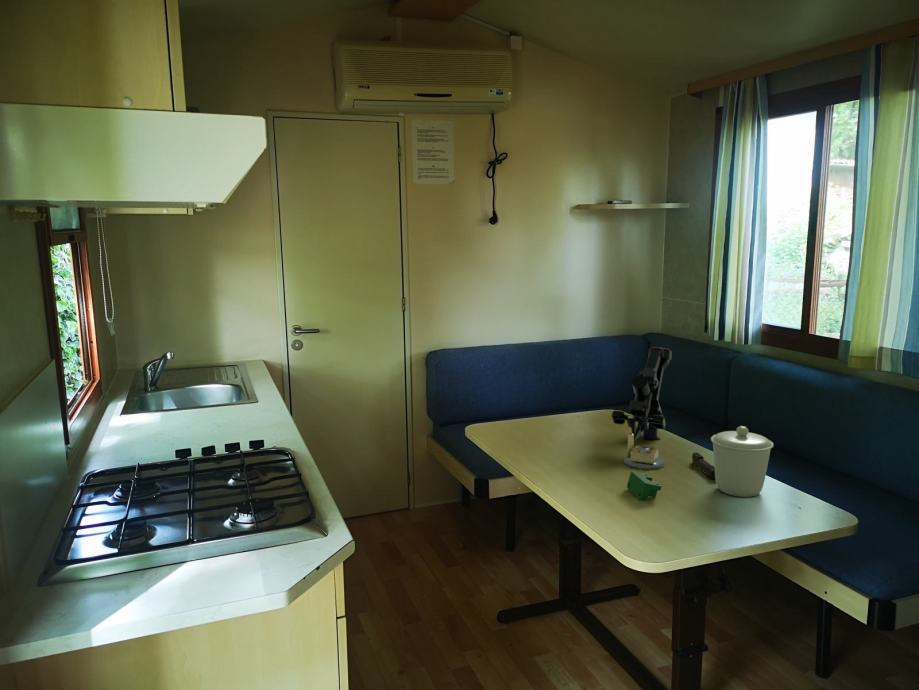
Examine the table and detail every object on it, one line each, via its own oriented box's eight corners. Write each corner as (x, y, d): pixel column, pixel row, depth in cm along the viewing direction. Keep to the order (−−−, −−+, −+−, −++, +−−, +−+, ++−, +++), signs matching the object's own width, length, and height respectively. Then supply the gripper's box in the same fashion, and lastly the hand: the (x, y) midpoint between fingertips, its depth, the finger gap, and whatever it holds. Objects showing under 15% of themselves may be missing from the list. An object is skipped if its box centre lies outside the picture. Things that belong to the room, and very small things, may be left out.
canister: (740, 478, 232) (744, 416, 229) (783, 497, 215) (788, 431, 212) (695, 485, 226) (699, 422, 222) (736, 505, 209) (740, 437, 206)
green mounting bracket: (652, 512, 215) (665, 490, 211) (634, 508, 214) (647, 487, 210) (642, 485, 226) (653, 464, 221) (625, 481, 225) (636, 460, 220)
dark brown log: (722, 481, 230) (723, 468, 230) (710, 481, 230) (711, 467, 229) (700, 463, 249) (701, 450, 248) (689, 463, 249) (690, 450, 248)
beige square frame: (630, 453, 254) (630, 430, 253) (658, 457, 249) (659, 434, 248) (624, 459, 247) (625, 436, 246) (653, 464, 242) (654, 440, 241)
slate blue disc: (629, 454, 257) (629, 440, 256) (668, 460, 251) (668, 445, 250) (619, 466, 245) (620, 450, 244) (660, 472, 239) (661, 456, 238)
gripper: (613, 388, 260) (604, 424, 252) (665, 393, 251) (657, 431, 243) (618, 405, 268) (609, 440, 260) (668, 410, 260) (661, 447, 251)
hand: (633, 439), depth 253 cm, fingers closed
